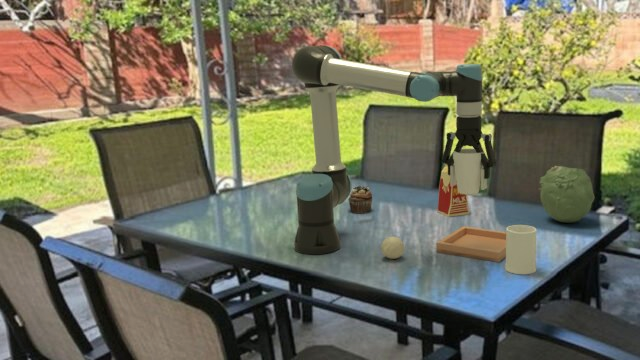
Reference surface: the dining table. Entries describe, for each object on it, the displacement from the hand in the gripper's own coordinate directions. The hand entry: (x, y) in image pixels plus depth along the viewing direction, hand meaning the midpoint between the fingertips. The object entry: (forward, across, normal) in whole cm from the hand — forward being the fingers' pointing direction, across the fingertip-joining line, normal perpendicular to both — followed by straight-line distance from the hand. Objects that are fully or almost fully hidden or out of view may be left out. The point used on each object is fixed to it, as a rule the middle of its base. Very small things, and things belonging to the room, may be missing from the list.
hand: (468, 187), depth 196 cm
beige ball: (+20, +15, +21) cm, 33 cm away
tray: (+19, -4, 0) cm, 20 cm away
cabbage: (+19, -19, -40) cm, 49 cm away
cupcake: (+20, +54, -21) cm, 61 cm away
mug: (+19, -22, +11) cm, 31 cm away
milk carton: (+20, +21, -34) cm, 44 cm away
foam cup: (+2, 0, 0) cm, 2 cm away
